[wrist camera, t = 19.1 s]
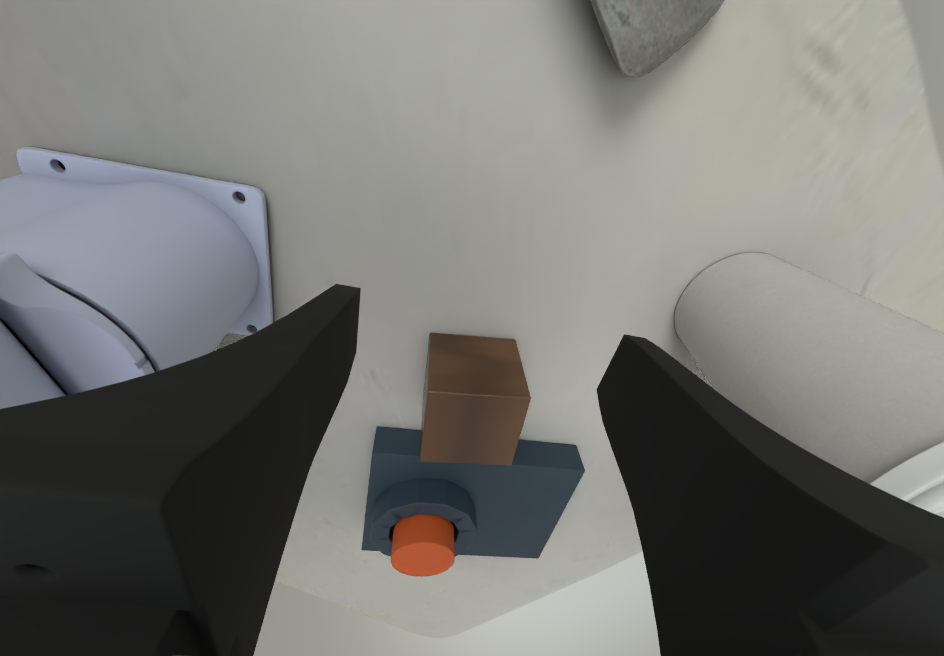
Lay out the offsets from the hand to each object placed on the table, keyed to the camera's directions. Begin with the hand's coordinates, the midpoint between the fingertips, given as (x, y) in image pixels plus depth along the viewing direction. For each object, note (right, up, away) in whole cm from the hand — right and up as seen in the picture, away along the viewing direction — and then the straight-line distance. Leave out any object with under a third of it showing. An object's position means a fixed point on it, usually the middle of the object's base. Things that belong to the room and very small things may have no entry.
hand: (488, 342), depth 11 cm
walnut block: (-1, -2, +14) cm, 14 cm away
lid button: (-4, -13, +16) cm, 21 cm away
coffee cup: (+14, +2, +13) cm, 19 cm away
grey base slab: (-1, -12, +20) cm, 23 cm away
